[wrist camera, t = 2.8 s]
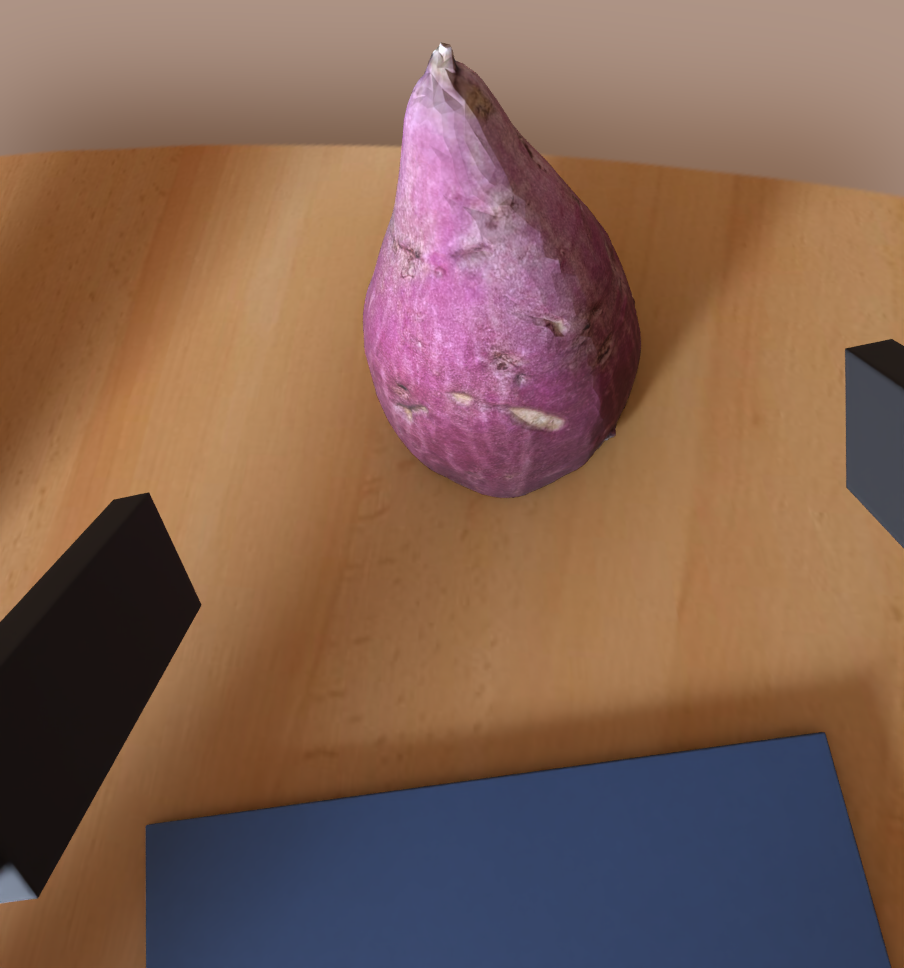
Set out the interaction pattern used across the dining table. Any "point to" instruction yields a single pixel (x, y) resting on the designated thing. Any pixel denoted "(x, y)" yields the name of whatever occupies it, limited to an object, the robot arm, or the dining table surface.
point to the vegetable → (494, 300)
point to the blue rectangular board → (532, 872)
